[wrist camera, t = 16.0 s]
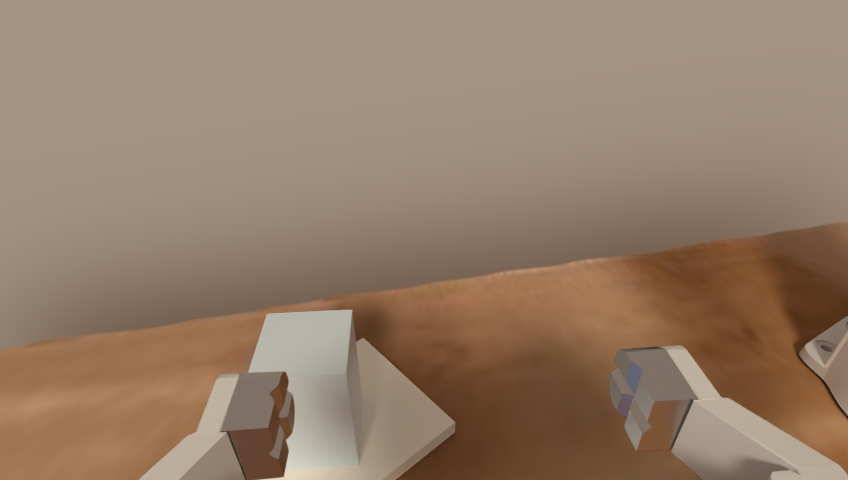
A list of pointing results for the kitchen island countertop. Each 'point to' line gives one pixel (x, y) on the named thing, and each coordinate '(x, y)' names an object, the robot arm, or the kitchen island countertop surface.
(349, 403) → the tall grey rectangular prism
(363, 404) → the post board
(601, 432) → the kitchen island countertop surface
